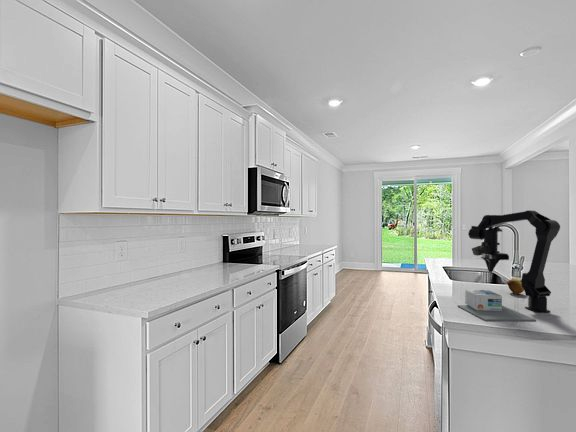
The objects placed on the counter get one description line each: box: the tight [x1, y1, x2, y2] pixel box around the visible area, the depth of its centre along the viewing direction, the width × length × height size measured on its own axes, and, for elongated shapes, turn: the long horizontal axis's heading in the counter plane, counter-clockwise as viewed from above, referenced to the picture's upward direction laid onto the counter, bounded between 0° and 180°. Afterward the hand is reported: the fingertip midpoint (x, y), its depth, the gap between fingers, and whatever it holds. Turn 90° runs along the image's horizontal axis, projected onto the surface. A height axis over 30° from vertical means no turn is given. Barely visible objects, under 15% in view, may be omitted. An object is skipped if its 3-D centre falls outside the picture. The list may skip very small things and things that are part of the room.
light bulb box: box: [464, 289, 503, 311], centre depth 144 cm, size 11×7×11 cm
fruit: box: [506, 277, 525, 295], centre depth 173 cm, size 8×8×8 cm
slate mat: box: [457, 304, 537, 322], centre depth 138 cm, size 20×20×1 cm
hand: (490, 272), depth 163 cm, fingers closed
